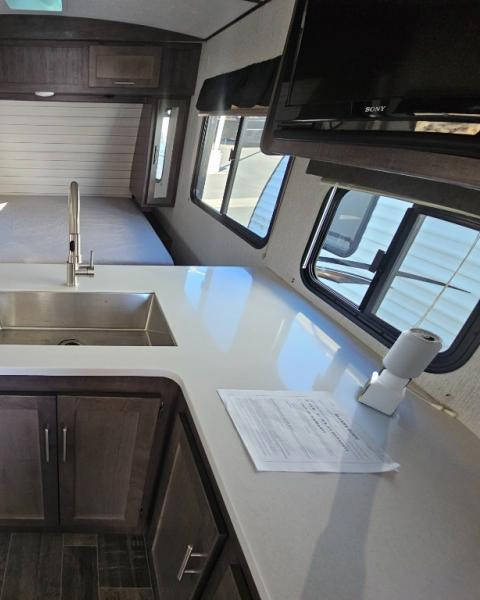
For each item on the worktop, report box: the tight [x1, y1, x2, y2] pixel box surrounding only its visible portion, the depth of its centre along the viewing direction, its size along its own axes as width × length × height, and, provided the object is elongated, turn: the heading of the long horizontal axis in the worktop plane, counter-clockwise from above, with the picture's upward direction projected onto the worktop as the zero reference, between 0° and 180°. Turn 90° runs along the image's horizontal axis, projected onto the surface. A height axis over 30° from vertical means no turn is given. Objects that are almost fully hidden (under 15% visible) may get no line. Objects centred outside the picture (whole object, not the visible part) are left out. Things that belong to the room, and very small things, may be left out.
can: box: [382, 326, 444, 379], centre depth 81 cm, size 8×8×12 cm
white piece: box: [358, 364, 413, 416], centre depth 88 cm, size 7×7×12 cm
